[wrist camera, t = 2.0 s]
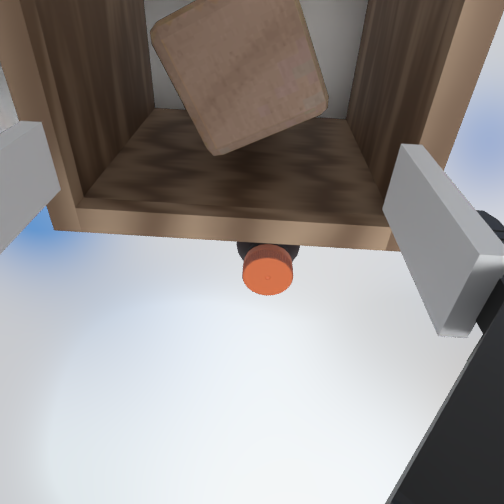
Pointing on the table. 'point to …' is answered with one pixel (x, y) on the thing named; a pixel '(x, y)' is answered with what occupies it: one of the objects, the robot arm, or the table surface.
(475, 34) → the cubby
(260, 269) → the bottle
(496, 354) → the robot arm
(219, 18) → the wooden block
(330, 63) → the table surface
